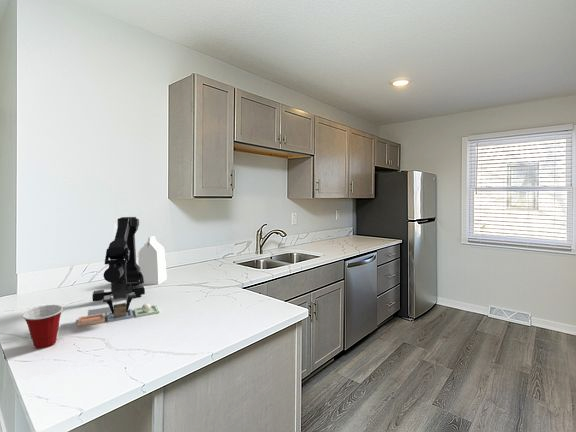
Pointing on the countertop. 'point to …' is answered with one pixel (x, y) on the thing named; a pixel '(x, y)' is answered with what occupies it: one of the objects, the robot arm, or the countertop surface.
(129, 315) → the dish slate
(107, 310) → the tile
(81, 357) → the countertop surface
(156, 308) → the dish sage
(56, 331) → the plastic cup
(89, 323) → the dish terracotta
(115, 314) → the letter cube
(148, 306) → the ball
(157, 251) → the milk
